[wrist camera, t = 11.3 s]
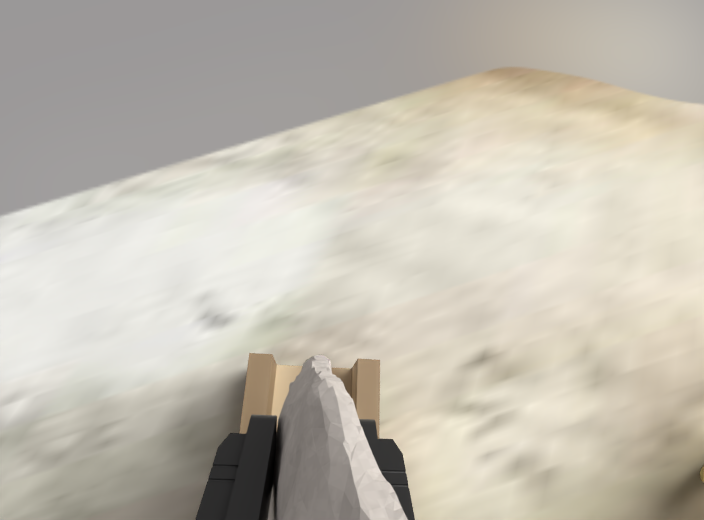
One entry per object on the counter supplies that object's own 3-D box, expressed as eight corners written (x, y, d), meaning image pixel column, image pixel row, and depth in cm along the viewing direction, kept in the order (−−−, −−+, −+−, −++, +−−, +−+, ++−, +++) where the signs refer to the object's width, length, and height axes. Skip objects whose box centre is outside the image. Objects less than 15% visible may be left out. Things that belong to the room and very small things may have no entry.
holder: (231, 600, 22) (213, 638, 18) (258, 366, 27) (249, 352, 23) (364, 601, 23) (377, 639, 19) (369, 371, 27) (379, 359, 23)
